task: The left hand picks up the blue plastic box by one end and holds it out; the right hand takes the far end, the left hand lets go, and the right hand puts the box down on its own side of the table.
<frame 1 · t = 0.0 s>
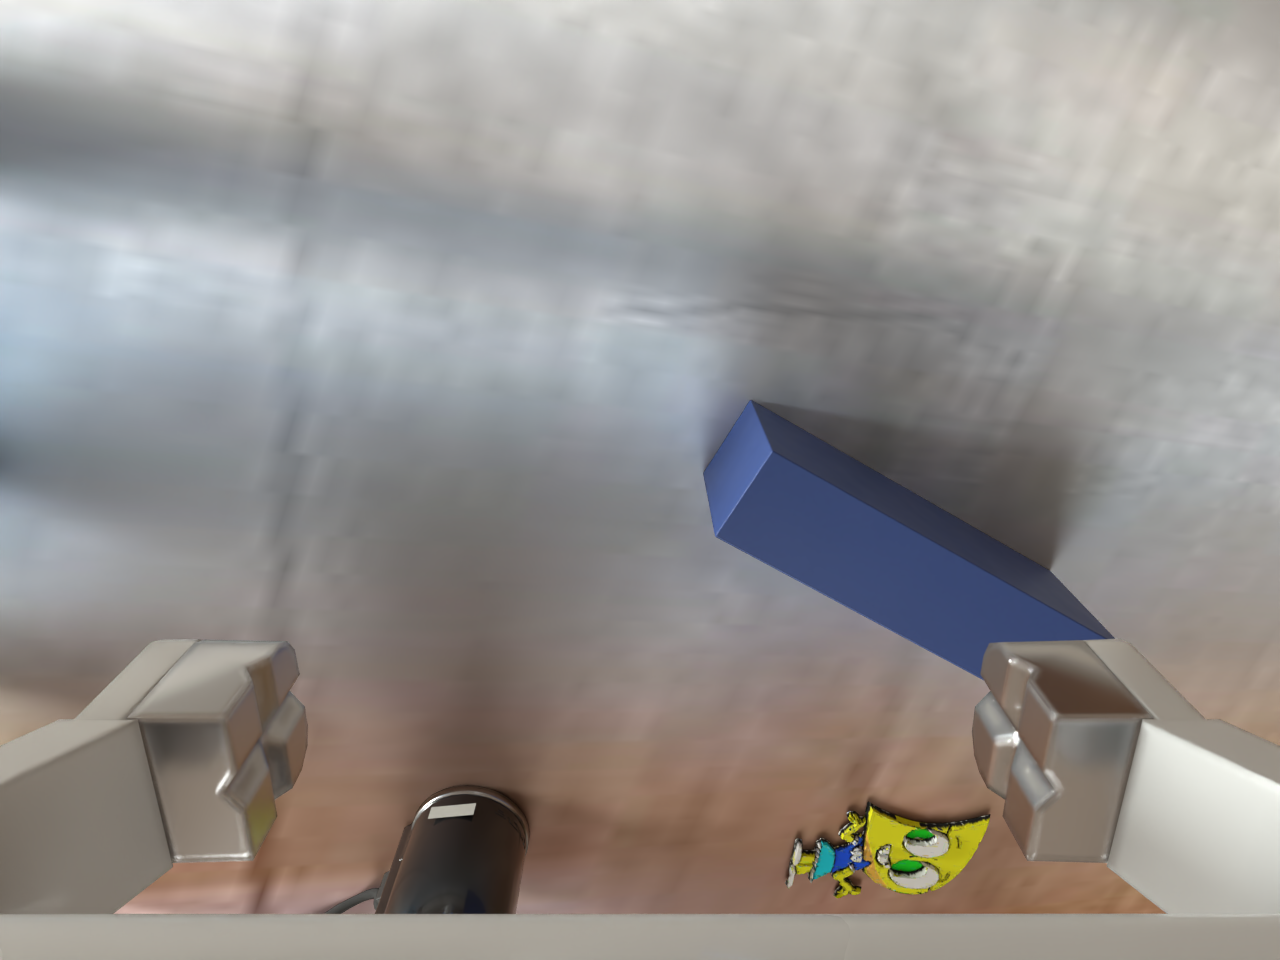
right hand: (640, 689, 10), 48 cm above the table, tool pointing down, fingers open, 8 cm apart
box: (880, 523, 62), on the table
toy 2: (883, 851, 73), on the table
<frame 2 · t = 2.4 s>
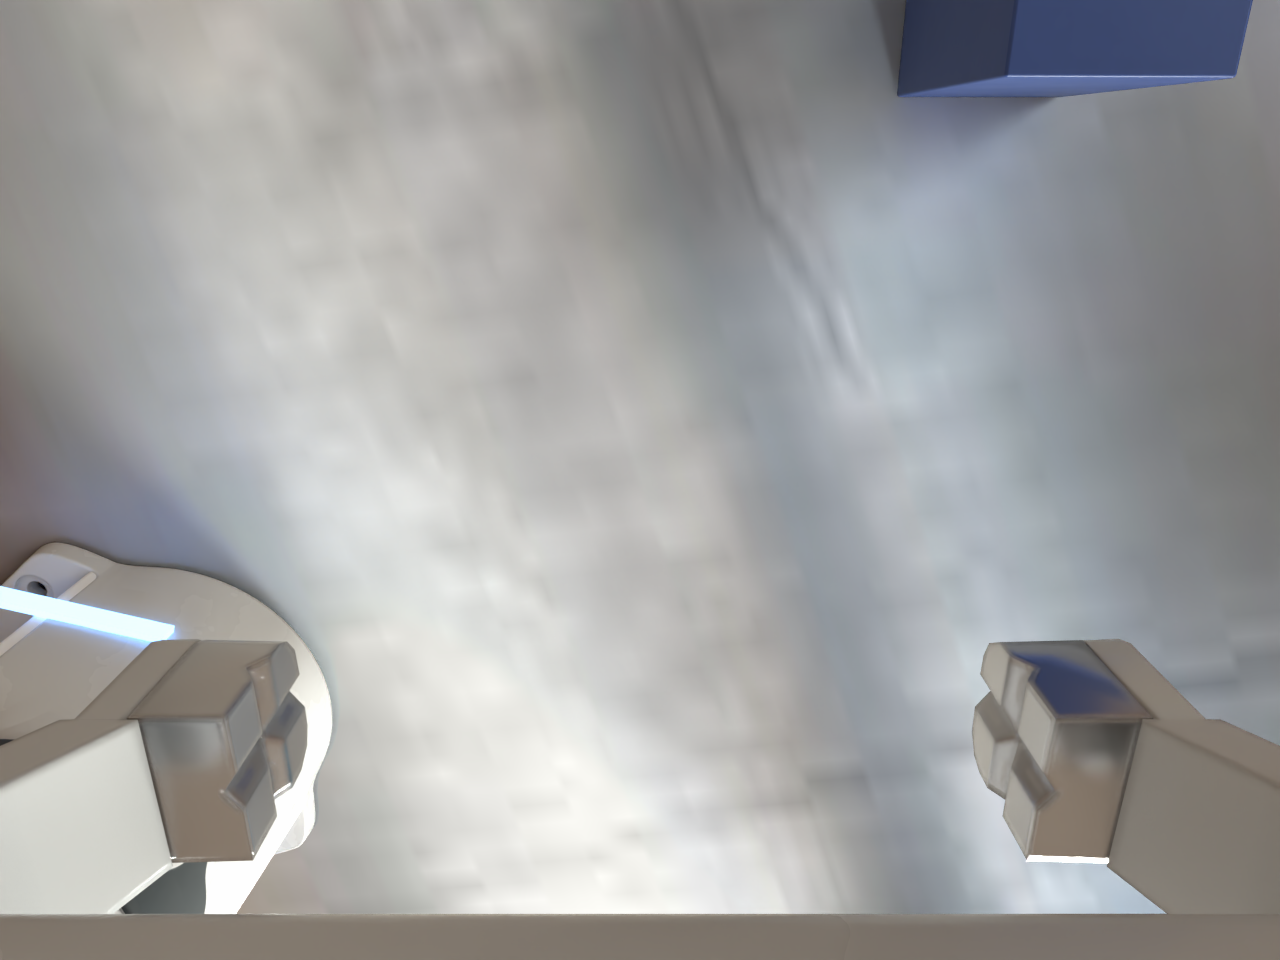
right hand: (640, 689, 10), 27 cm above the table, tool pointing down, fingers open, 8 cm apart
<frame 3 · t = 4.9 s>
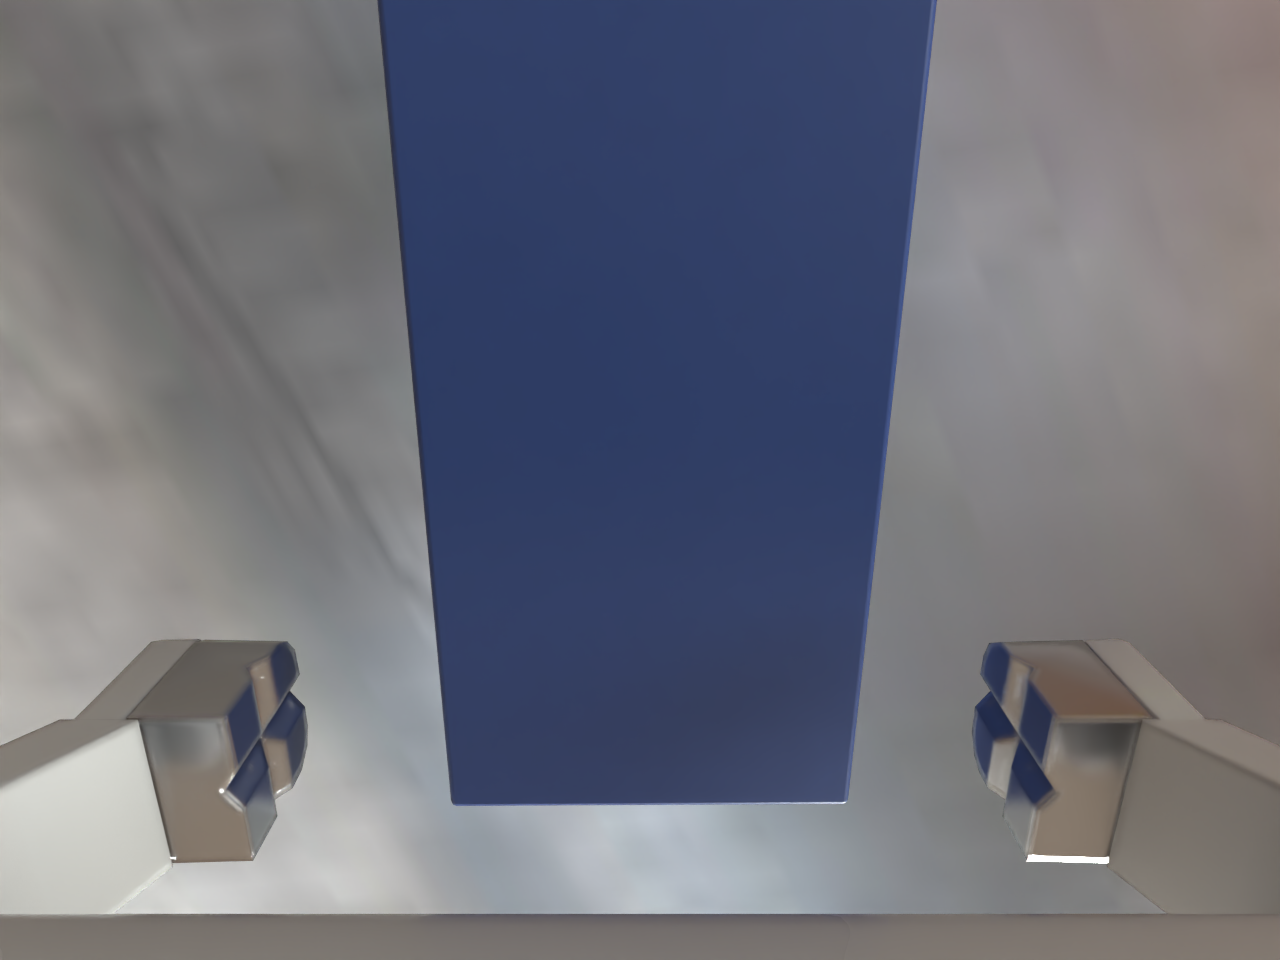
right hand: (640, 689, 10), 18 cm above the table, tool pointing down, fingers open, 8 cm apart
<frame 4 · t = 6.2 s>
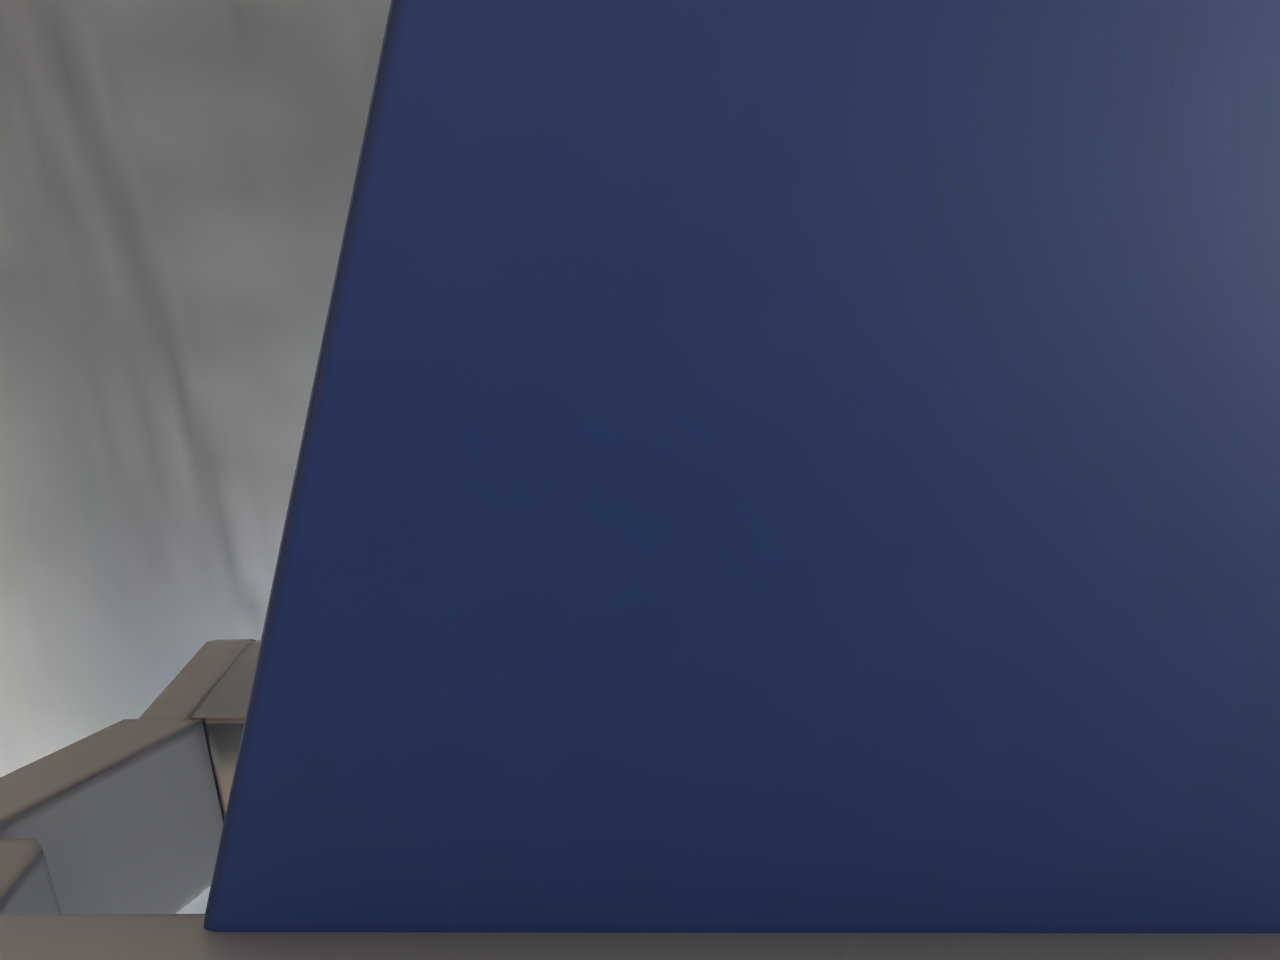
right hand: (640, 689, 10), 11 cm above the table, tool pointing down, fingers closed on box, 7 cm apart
when the left hand's fingers open (12 cm above the table, at t = 7.4 s): box moves 2 cm, held by the right hand.
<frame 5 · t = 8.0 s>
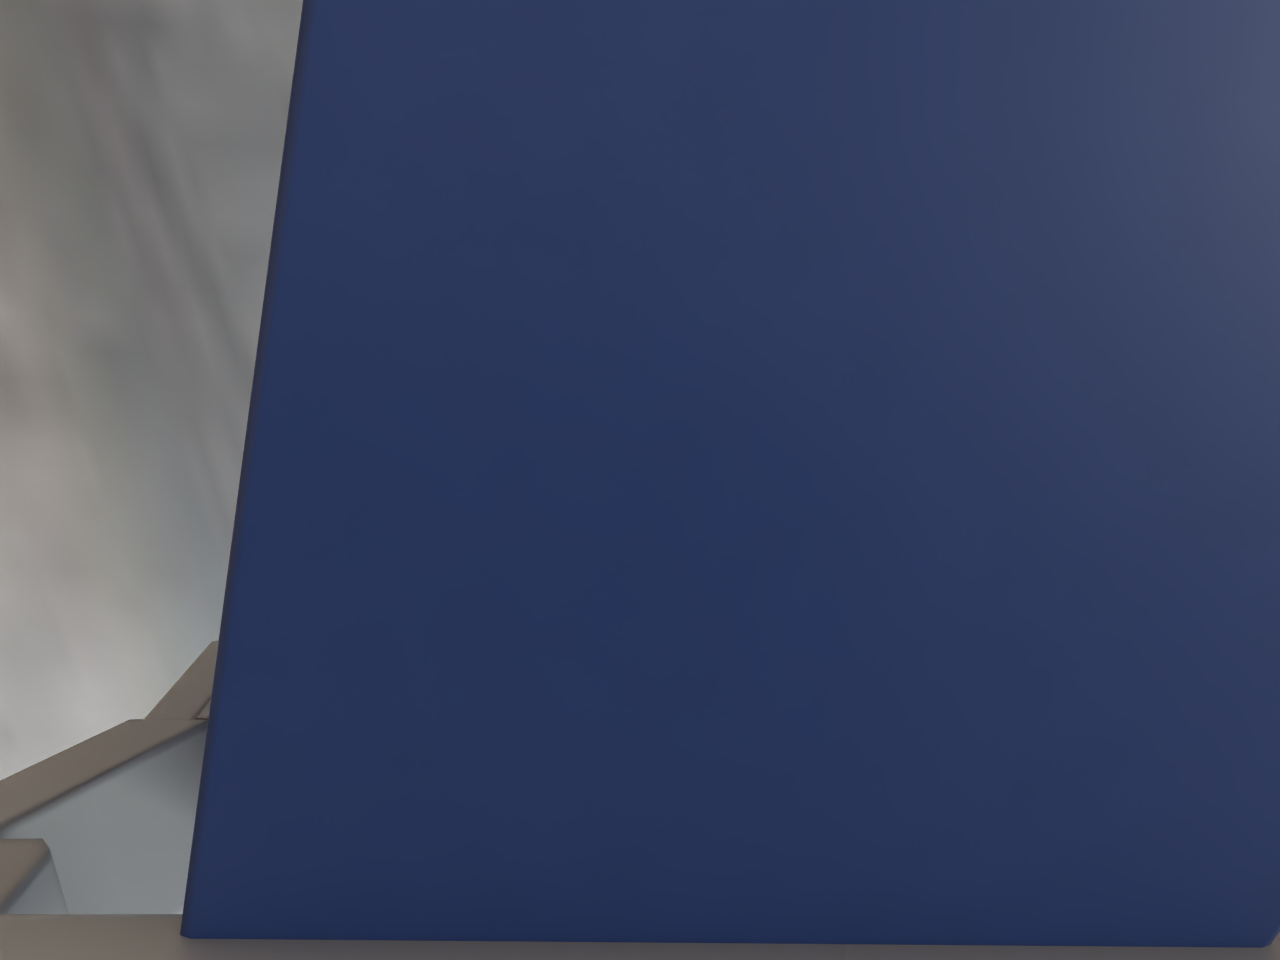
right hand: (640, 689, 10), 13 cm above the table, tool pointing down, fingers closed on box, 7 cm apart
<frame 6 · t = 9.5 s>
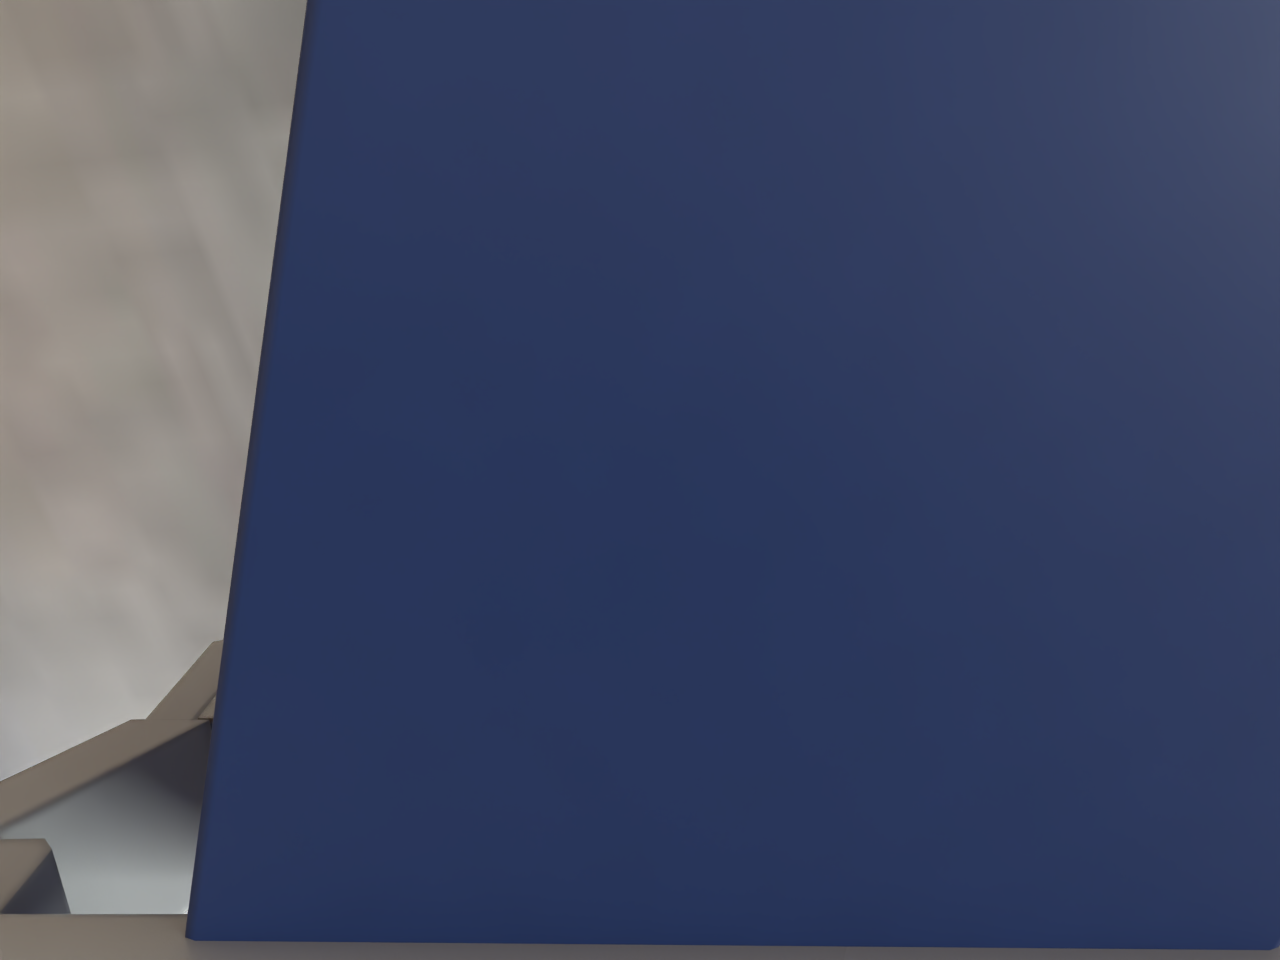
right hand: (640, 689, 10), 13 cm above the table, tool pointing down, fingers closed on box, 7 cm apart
when the right hand's fingers open (6 cm above the table, at t = 13.4 s): box stays where it is, on the table.
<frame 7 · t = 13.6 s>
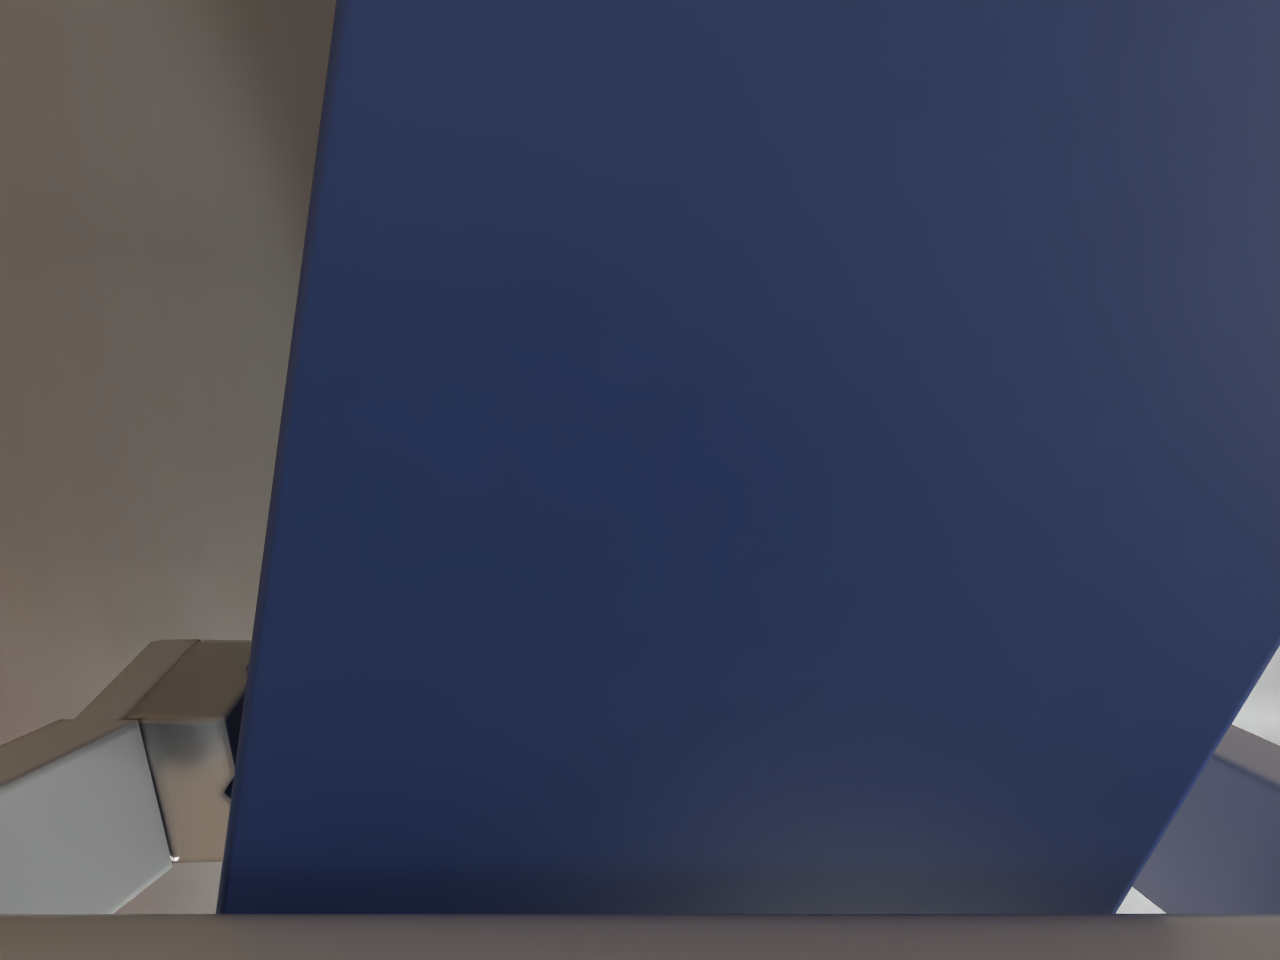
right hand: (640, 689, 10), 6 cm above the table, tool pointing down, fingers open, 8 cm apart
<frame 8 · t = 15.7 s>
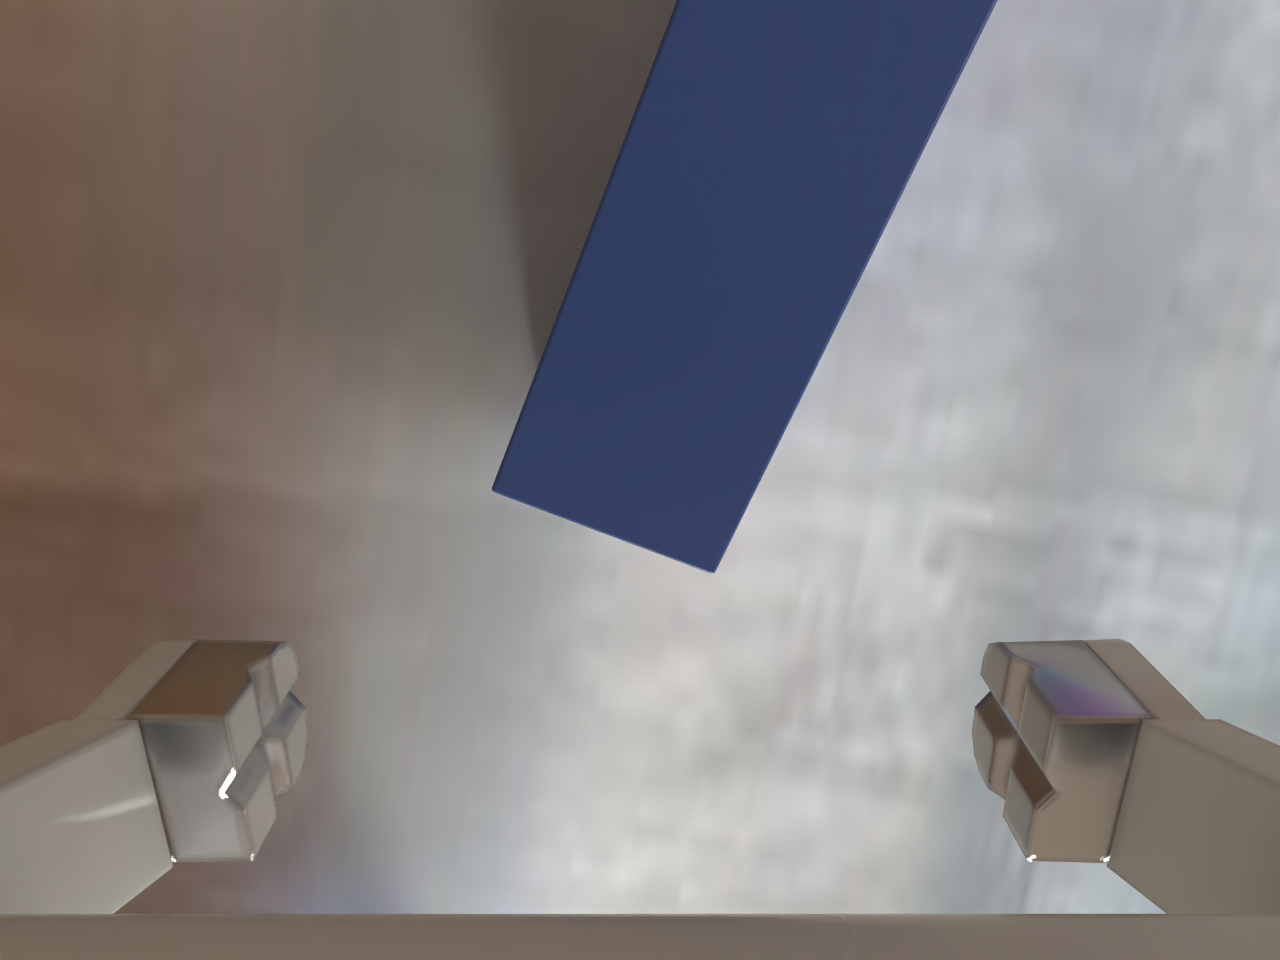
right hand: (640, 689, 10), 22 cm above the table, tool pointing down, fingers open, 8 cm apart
box: (765, 58, 28), on the table
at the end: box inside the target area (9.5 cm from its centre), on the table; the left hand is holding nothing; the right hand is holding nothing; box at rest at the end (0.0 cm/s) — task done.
